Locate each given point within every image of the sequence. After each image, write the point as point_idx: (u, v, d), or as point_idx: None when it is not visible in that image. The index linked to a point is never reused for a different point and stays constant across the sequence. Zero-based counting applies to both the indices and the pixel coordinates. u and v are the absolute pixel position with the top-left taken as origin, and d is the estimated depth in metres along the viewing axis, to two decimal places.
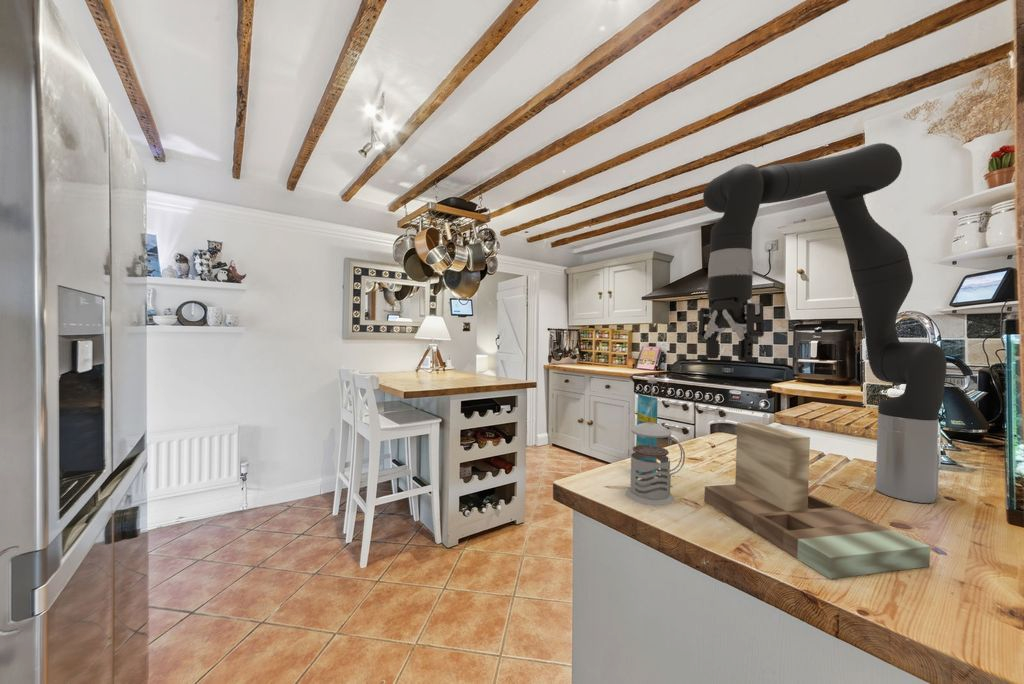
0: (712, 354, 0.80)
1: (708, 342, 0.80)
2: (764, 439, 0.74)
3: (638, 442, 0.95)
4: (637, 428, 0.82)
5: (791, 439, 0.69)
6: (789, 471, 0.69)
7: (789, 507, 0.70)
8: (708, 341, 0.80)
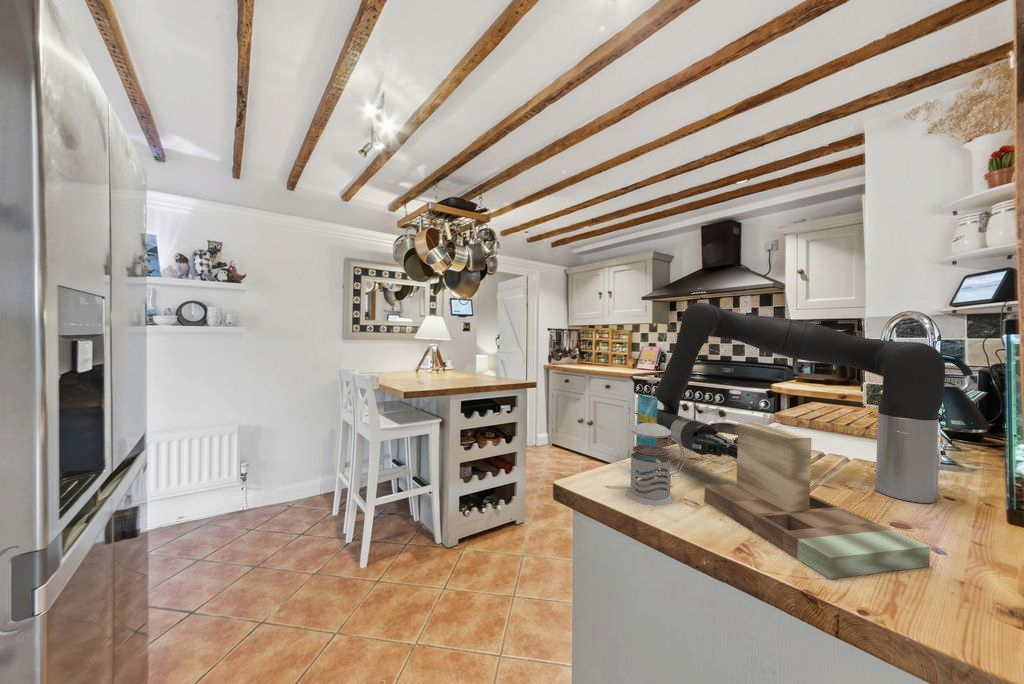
0: None
1: None
2: (765, 439, 0.74)
3: (638, 442, 0.95)
4: (637, 428, 0.82)
5: (793, 439, 0.69)
6: (791, 471, 0.69)
7: (791, 508, 0.69)
8: None
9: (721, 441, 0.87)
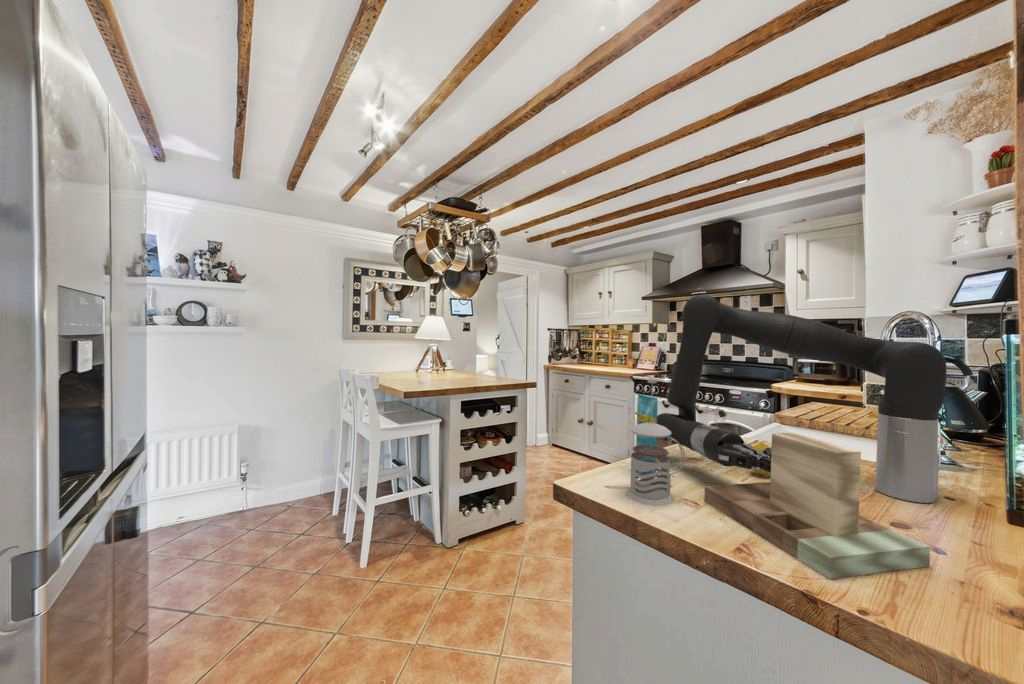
0: None
1: None
2: (805, 453, 0.66)
3: (638, 442, 0.95)
4: (637, 428, 0.82)
5: (840, 454, 0.61)
6: (838, 490, 0.61)
7: (837, 531, 0.61)
8: None
9: (751, 452, 0.79)
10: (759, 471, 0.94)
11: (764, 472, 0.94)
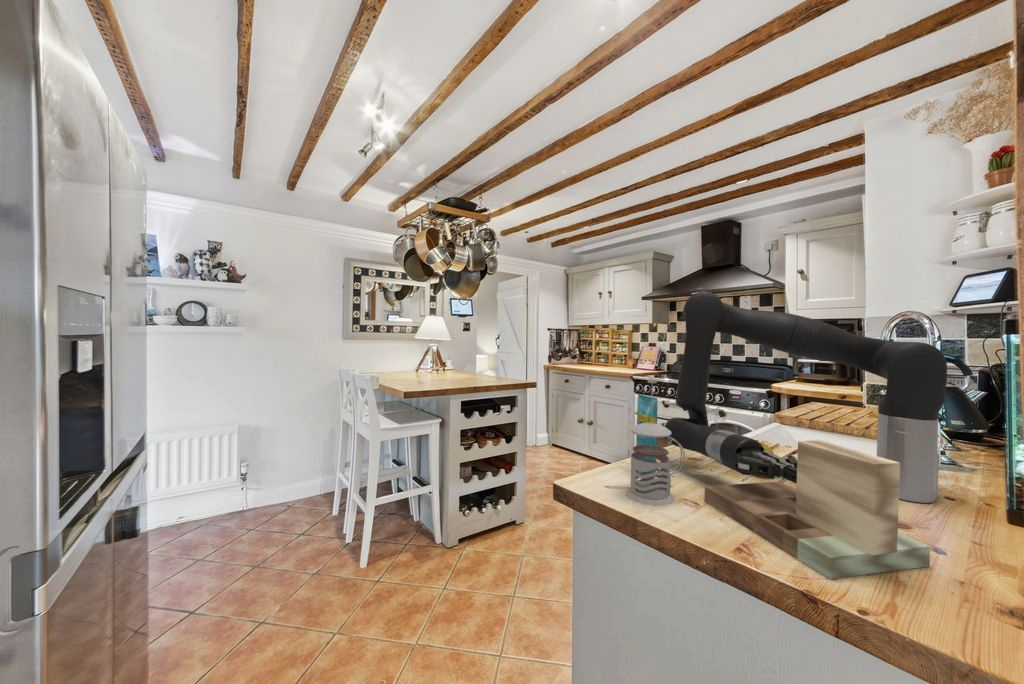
0: None
1: None
2: (837, 463, 0.61)
3: (638, 442, 0.95)
4: (637, 428, 0.82)
5: (878, 465, 0.56)
6: (875, 505, 0.56)
7: (875, 550, 0.56)
8: None
9: (773, 460, 0.74)
10: None
11: None
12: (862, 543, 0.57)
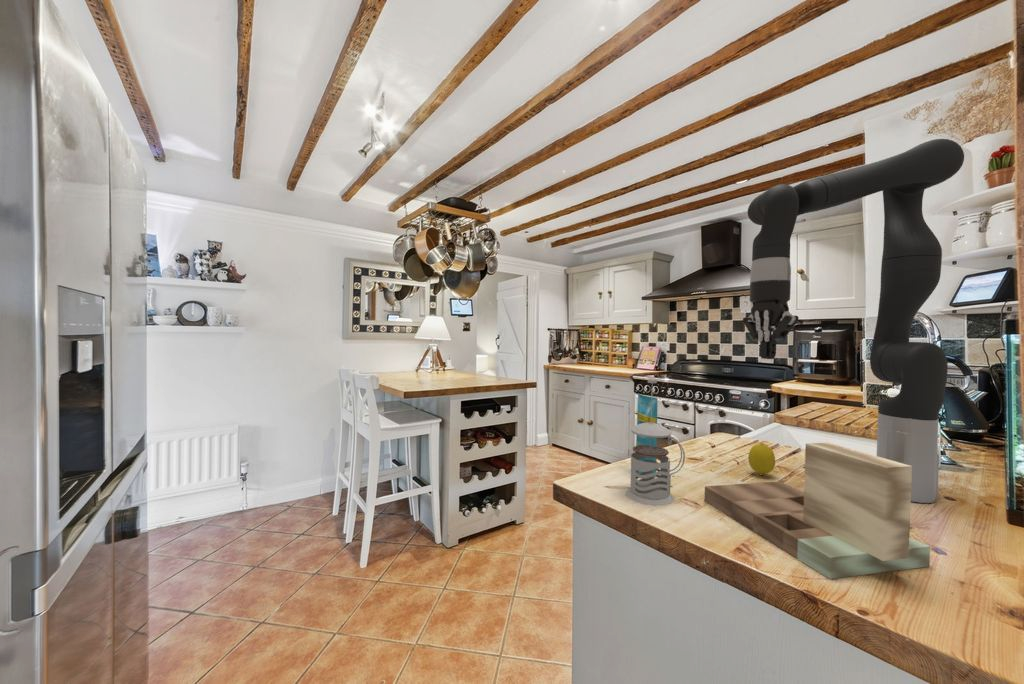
0: None
1: (763, 344, 0.87)
2: (847, 466, 0.59)
3: (638, 442, 0.95)
4: (637, 428, 0.82)
5: (889, 469, 0.54)
6: (887, 509, 0.54)
7: (886, 556, 0.54)
8: (763, 343, 0.87)
9: None
10: (759, 471, 0.94)
11: (764, 472, 0.94)
12: (873, 548, 0.55)
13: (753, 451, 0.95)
